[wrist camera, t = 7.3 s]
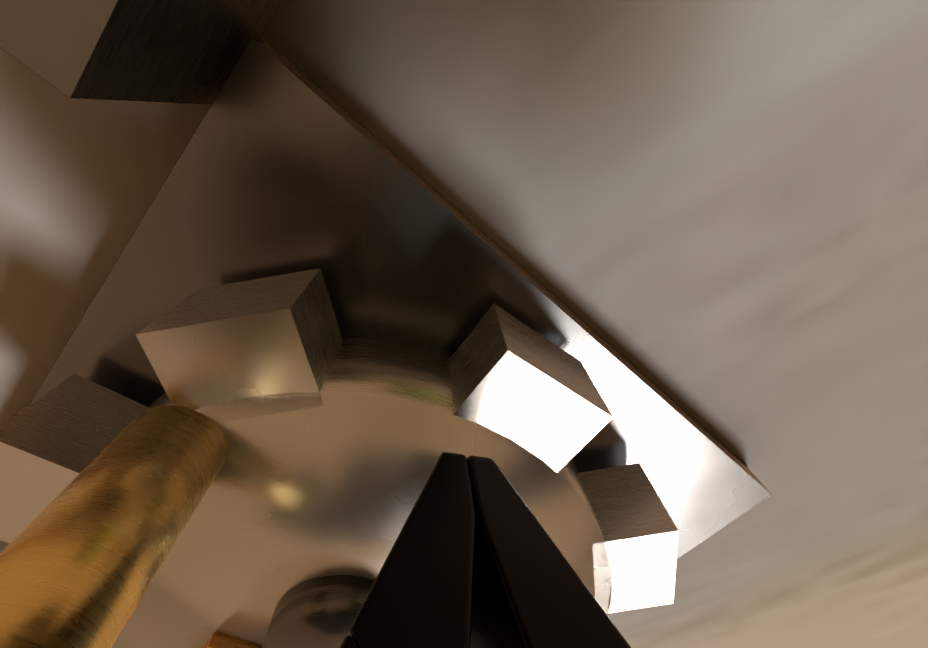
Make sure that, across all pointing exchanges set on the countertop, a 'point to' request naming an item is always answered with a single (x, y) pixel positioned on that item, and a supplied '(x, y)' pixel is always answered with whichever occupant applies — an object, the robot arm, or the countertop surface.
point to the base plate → (368, 275)
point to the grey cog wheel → (293, 476)
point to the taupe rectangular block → (134, 45)
